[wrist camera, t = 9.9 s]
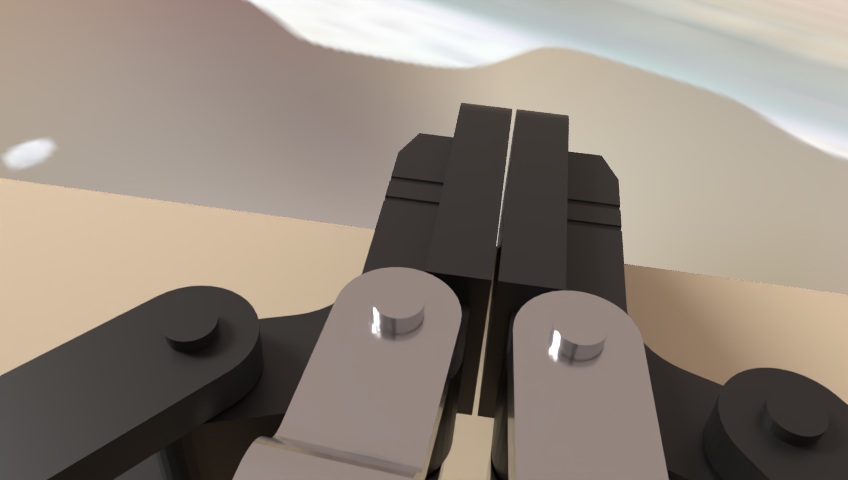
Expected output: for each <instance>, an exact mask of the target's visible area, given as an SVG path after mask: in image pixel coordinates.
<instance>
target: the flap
mask: <svg viewBox="0 0 848 480" xmlns="http://www.w3.org/2000/svg"><path fill="white" fill-rule="evenodd" d="M374 232H375V230H374V229H366V228H359V227H352V226H345V225H337V224H330V223H322V222H316V221H308V220H301V219H293V218H286V217H279V216H272V215H264V214H257V213H250V212H243V211H236V210H235V211H234V210H228V209H221V208H213V207H207V206H199V205H192V204H185V203H177V202H170V201H162V200H155V199H148V198H140V197H134V196H126V195H119V194H111V193H105V192H97V191H90V190H82V189H76V188H68V187H61V186H54V185H46V184H39V183H32V182H24V181H17V180H10V179H3V178H0V376H1V375H3V374H4V373H6V372H8V371H10V370H12V369H14V368H16V367H18V366H20V365H22V364H24V363H26V362H28V361H30V360H32V359H34V358H36V357H38V356H40V355H42V354H44V353H46V352H48V351H50V350H52V349H54V348H56V347H58V346H60V345H62V344H64V343H66V342H68V341H70V340H72V339H74V338H75V337H77V336H79V335H81V334H83V333H85V332H87V331H89V330H91V329H93V328H95V327H97V326H99V325H101V324H103V323H105V322H107V321H109V320H111V319H113V318H115V317H117V316H119V315H121V314H123V313H125V312H127V311H129V310H131V309H133V308H135V307H137V306H139V305H141V304H143V303H144V302H146V301H148V300H150V299H152V298H154V297H156V296H159V295H161V294H163V293H165V292H168V291H171V290H175V289H178V288H183V287H188V286H214V287H220V288H224V289H227V290H230V291H233V292H235V293H237V294H239V295H241V296H242V297H243V298H244V299H246V300H247V301H248V302H249V303H250V304H251V305H252V306H253V308H254V310H255V311H256V313H257V316H258V319H262V318H271V317H280V316H290V315H298V314H304V313H309V312H313V311H316V310H320V309H322V308H325V307H327V306H329V305H331V304H333V303H335V300H336V298H337V296H338V295H339V293H340V291H341V290H342V289H343V288H344V287H345V286H346V284H348V283H349V282H350V281H352V280H353V279H354V278H356V277H358V276H360V275H361V274H362V271H363V268H364V265H365V262H366V258H367V255H368V252H369V248H370V245H371V242H372V239H373V235H374ZM496 253H497V246H496V250H495V258H494V266H493V275H492V283H491V289H490V296H489V303H488V310H487V317H486V324H485V330H484V337H483V344H482V351H481V358H480V364H479V371H478V378H477V385H476V392H475V399H474V405H473V412H472V415H466V414H459V413H457V414H456V421H455V428H454V435H453V442H452V446H451V450H450V452H449V454H448V456H447V458H446V459H445V462H444V469H443V474H442V478H441V480H486V477H487V469H488V463H489V457H490V452H491V446H492V436H493V425H494V418H488V417H481V416H477V415H478V407H479V398H480V389H481V381H482V372H483V364H484V355H485V347H486V338H487V330H488V321H489V313H490V304H491V296H492V287H493V278H494V270H495V261H496ZM624 272H625V287H626V302H627V312H628V316H629V317H630V318H631V319H632V320H633V321H634V323H635V324H636V325H637V327H638V329H639V331H640V333H641V336H642V339H643V342H644V343H645V344H646V345H647V346H648V347H649V348H650V349H651V350H652V351H653V352H655V353H656V354H657V355H659V356H660V357H661V358H663V359H664V360H666V361H668V362H669V363H671V364H673V365H675V366H677V367H679V368H681V369H683V370H686V371H688V372H691V373H693V374H696V375H698V376H701V377H703V378H706V379H708V380H711V381H713V382H716V383H718V384H721V385H723V386H724V384H725V383H726V382H727V381H728V380H729V379H730V378H731V377H733V376H734V375H736V374H737V373H740V372H742V371H745V370H748V369H754V368H778V369H783V370H788V371H792V372H795V373H798V374H801V375H804V376H806V377H808V378H810V379H812V380H814V381H816V382H818V383H820V384H821V385H823V386H825V387H826V388H828V389H829V390H830V391H832V392H833V393H834V394H836V395H837V396H838V397H839V398H841V399H842V400H843V401H844V402H845V403H846V404H848V295H846V294H839V293H832V292H824V291H817V290H810V289H803V288H795V287H788V286H781V285H773V284H766V283H759V282H752V281H744V280H737V279H730V278H722V277H715V276H708V275H700V274H693V273H686V272H679V271H672V270H664V269H656V268H650V267H643V266H635V265H628V264H624Z"/></svg>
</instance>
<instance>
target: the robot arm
mask: <svg viewBox="0 0 848 480" xmlns="http://www.w3.org/2000/svg"><path fill="white" fill-rule="evenodd" d="M511 115H512V109H507V108H500V107H491V106H483V105H475V104H466V103H461V106H460V110H459V115H458V120H457V124H456V129H455V133H454V138H452V137H445V136H437V135H429V134H421V133H420V134H418V135H417V136H416V137H415V138H414V139H413V140H412V141H411V142H410V143H408V144H407V145H406V146H405V147H404V148H403V149H402V150H401V151H400V152H399V153H398V156H397V159H396V163H395V166H394V170H393V173H392V177H391V181H390V182H389V186H388V189H387V193H386V196H385V201H384V202H383V206H382V209H381V212H380V215H379V219H378V222H377V225H376V229H375V232H374V235H373V239H372V242H371V245H370V248H369V252H368V255H367V258H366V262H365V265H364V268H363V271H362V274H361V275H360V276H358V277H356V278H354V279H353V280H352V281H350V282H349V283H348V284H346V286H345V287H344V288H343V289H342V290H341V291H340V293H339V295H338V296H337V298H336V300H335V303H333V304H331V305H329V306H327V307H325V308H322V309H320V310H316V311H313V312H309V313H304V314H298V315H290V316H280V317H271V318H262V319H258V316H257V313H256V311H255V310H254V308H253V306H252V305H251V304H250V303H249V302H248V301H247V300H246V299H244V298H243V297H242V296H241V295H239V294H237V293H235V292H233V291H230V290H227V289H224V288H220V287H214V286H188V287H183V288H178V289H175V290H171V291H168V292H165V293H163V294H161V295H159V296H156V297H154V298H152V299H150V300H148V301H146V302H144V303H143V304H141V305H139V306H137V307H135V308H133V309H131V310H129V311H127V312H125V313H123V314H121V315H119V316H117V317H115V318H113V319H111V320H109V321H107V322H105V323H103V324H101V325H99V326H97V327H95V328H93V329H91V330H89V331H87V332H85V333H83V334H81V335H79V336H77V337H75V338H74V339H72V340H70V341H68V342H66V343H64V344H62V345H60V346H58V347H56V348H54V349H52V350H50V351H48V352H46V353H44V354H42V355H40V356H38V357H36V358H34V359H32V360H30V361H28V362H26V363H24V364H22V365H20V366H18V367H16V368H14V369H12V370H10V371H8V372H6V373H4V374H3V375H1V376H0V480H441V478H442V474H443V469H444V462H445V459H446V458H447V456H448V454H449V452H450V450H451V446H452V442H453V435H454V428H455V421H456V414H457V413H459V414H466V415H472V412H473V405H474V399H475V392H476V385H477V378H478V371H479V364H480V358H481V351H482V344H483V337H484V330H485V324H486V317H487V310H488V303H489V296H490V289H491V283H492V275H493V266H494V258H495V250H496V240H497V233H498V224H499V215H500V208H501V199H502V190H503V183H504V173H505V166H506V157H507V149H508V140H509V131H510V124H511ZM568 132H569V118H568V116H567V115H559V114H551V113H543V112H534V111H525V110H517V111H516V117H515V124H514V131H513V137H512V145H511V151H510V158H509V165H508V172H507V178H506V186H505V192H504V200H503V206H502V214H501V221H500V228H499V236H498V245H497V253H496V261H495V270H494V278H493V287H492V296H491V304H490V313H489V321H488V330H487V338H486V347H485V355H484V364H483V372H482V381H481V389H480V398H479V407H478V415H477V416H481V417H488V418H494V425H493V436H492V446H491V452H490V457H489V463H488V469H487V477H486V480H848V404H846V403H845V402H844V401H843V400H842V399H841V398H839V397H838V396H837V395H836V394H834V393H833V392H832V391H830V390H829V389H828V388H826V387H825V386H823V385H821V384H820V383H818V382H816V381H814V380H812V379H810V378H808V377H806V376H804V375H801V374H798V373H795V372H792V371H788V370H783V369H778V368H754V369H748V370H745V371H742V372H740V373H737V374H736V375H734V376H733V377H731V378H730V379H729V380H728V381H727V382H726V383H725V384H724V386H723V385H721V384H718V383H716V382H713V381H711V380H708V379H706V378H703V377H701V376H698V375H696V374H693V373H691V372H688V371H686V370H683V369H681V368H679V367H677V366H675V365H673V364H671V363H669V362H668V361H666V360H664V359H663V358H661V357H660V356H659V355H657V354H656V353H655V352H653V351H652V350H651V349H650V348H649V347H648V346H647V345H646V344H645V343H644V342H643V339H642V336H641V333H640V331H639V329H638V327H637V325H636V324H635V323H634V321H633V320H632V319H631V318H630V317H629V316H628V312H627V302H626V287H625V272H624V257H623V243H622V231H621V212H620V210H619V208H620V197H619V182H618V179H617V177H616V176H615V174H614V173H613V171H612V170H611V169H610V167H609V166H608V164H607V163H606V161H605V160H604V159H603V157H602V156H600V155H592V154H583V153H574V152H568V134H569V133H568Z"/></svg>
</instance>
